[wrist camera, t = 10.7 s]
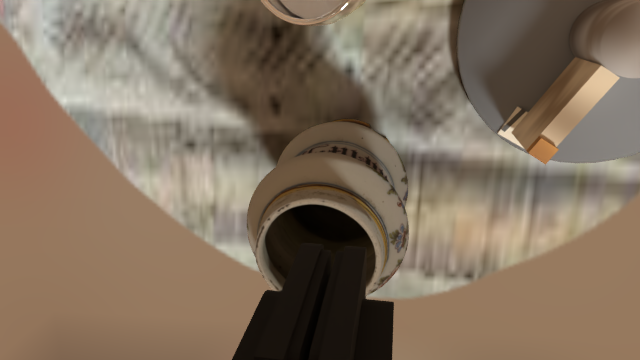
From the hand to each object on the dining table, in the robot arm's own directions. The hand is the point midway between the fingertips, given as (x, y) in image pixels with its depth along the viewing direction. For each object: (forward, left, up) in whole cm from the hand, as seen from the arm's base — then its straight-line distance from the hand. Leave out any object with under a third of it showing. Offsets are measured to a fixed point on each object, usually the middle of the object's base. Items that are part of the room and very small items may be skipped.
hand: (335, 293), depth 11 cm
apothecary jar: (+1, -9, -32) cm, 34 cm away
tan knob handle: (+13, +8, -30) cm, 34 cm away
